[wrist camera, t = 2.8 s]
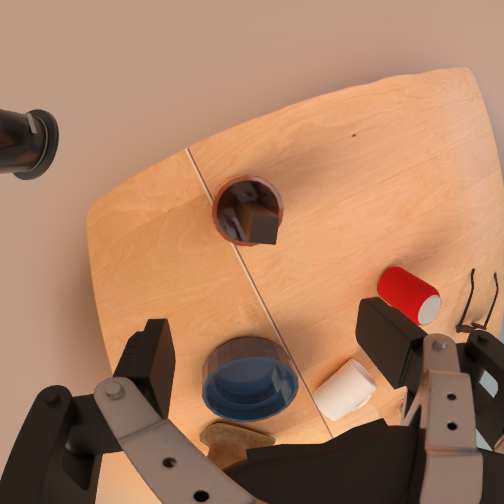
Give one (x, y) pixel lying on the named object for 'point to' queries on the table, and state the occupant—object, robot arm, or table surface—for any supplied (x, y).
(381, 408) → the table surface
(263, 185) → the holder
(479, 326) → the eyeglasses
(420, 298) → the beverage can
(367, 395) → the mug
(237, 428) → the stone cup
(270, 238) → the stick
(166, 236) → the table surface
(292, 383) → the bowl
